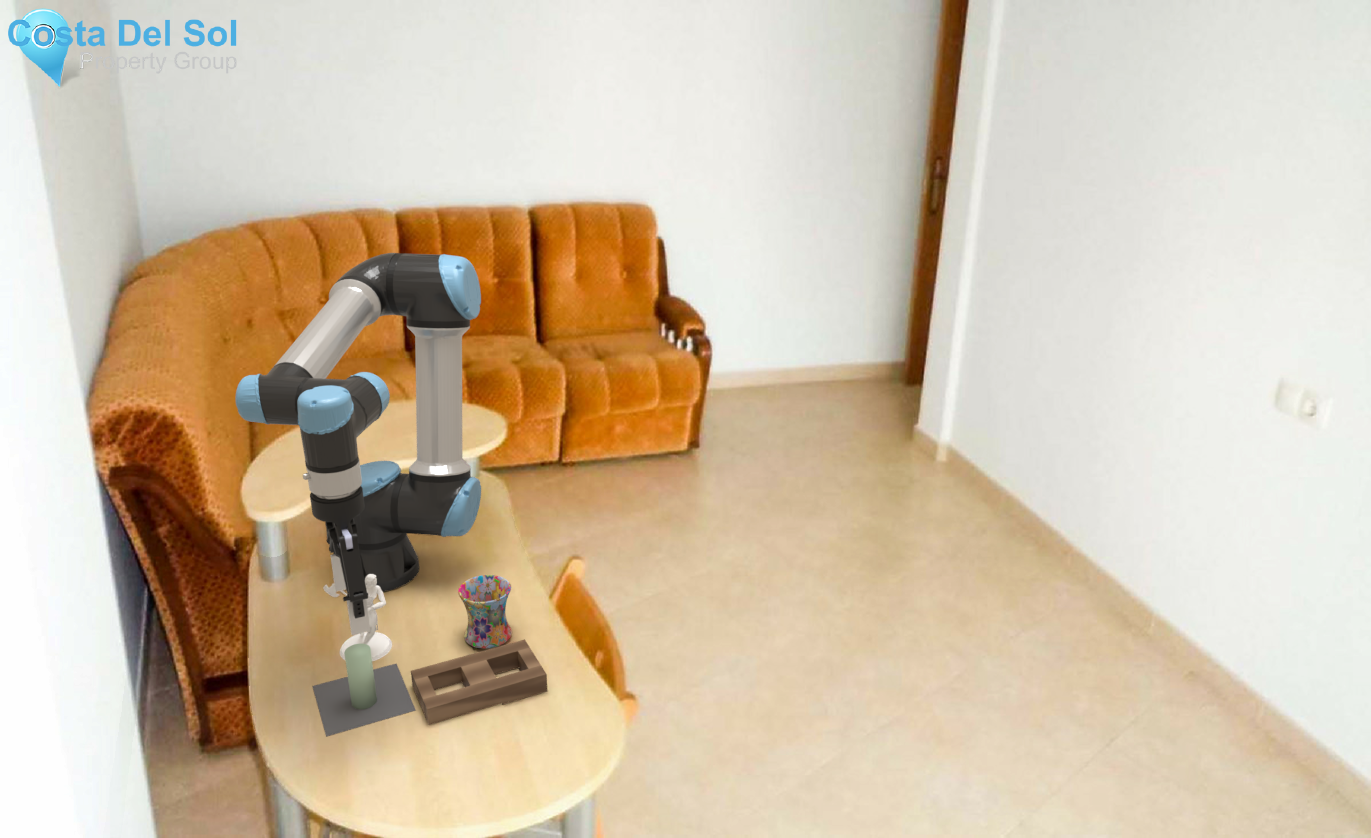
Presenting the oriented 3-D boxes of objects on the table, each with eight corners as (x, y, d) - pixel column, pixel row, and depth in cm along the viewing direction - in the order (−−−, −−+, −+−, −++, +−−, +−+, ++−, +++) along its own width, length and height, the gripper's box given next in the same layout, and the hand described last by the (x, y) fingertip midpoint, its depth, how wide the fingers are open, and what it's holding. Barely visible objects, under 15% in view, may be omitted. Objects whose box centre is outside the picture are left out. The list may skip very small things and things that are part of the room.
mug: (516, 649, 178) (513, 598, 174) (464, 656, 176) (459, 605, 171) (510, 612, 188) (506, 564, 184) (460, 619, 186) (455, 570, 182)
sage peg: (349, 697, 164) (342, 647, 160) (374, 691, 166) (367, 641, 162) (354, 712, 161) (346, 661, 157) (379, 704, 163) (372, 654, 159)
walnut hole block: (412, 687, 167) (410, 670, 166) (525, 655, 176) (524, 639, 175) (429, 726, 158) (427, 709, 157) (547, 691, 167) (546, 674, 166)
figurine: (334, 670, 172) (321, 580, 165) (337, 638, 180) (324, 552, 173) (393, 661, 174) (383, 573, 167) (393, 631, 182) (383, 545, 176)
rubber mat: (312, 688, 167) (312, 686, 167) (396, 665, 173) (396, 663, 173) (326, 738, 156) (326, 736, 155) (415, 712, 162) (415, 710, 161)
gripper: (297, 461, 157) (314, 577, 165) (323, 530, 136) (341, 658, 145) (346, 453, 160) (360, 567, 168) (379, 518, 140) (393, 644, 148)
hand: (352, 609), depth 156 cm, fingers open, 13 cm apart
